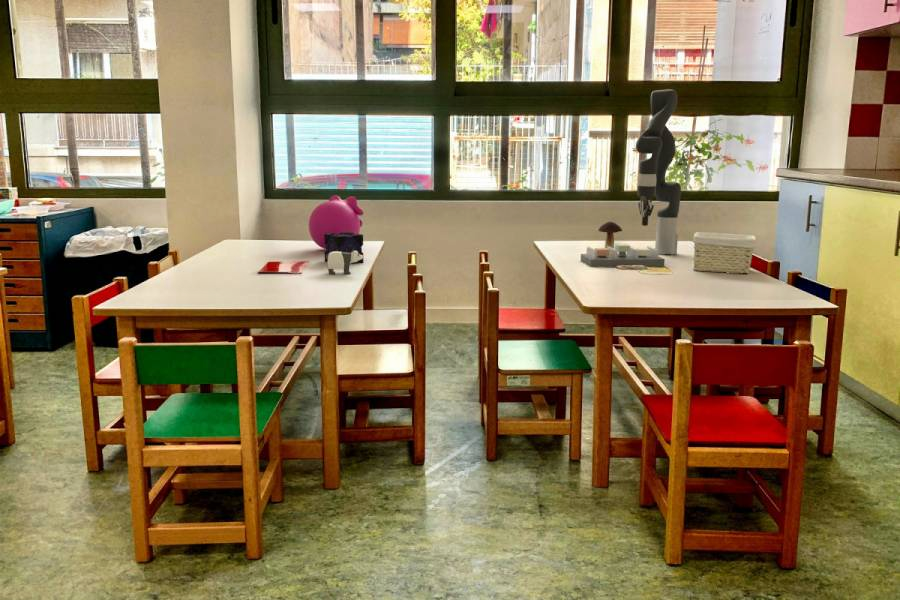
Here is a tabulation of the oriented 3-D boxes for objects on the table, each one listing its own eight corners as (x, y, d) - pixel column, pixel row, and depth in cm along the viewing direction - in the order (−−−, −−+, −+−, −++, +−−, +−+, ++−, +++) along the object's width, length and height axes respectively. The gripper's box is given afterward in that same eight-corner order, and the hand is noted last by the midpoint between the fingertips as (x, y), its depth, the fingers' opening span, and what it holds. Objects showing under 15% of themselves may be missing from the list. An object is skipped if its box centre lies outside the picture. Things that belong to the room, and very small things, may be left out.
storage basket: (752, 269, 323) (755, 234, 320) (753, 275, 308) (756, 239, 305) (692, 265, 331) (695, 231, 328) (690, 271, 316) (693, 235, 313)
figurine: (371, 249, 367) (370, 196, 362) (338, 255, 347) (337, 199, 342) (333, 245, 379) (332, 193, 374) (299, 251, 359) (297, 196, 354)
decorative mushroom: (607, 256, 355) (609, 223, 352) (592, 252, 364) (593, 220, 361) (625, 254, 360) (627, 222, 357) (610, 251, 369) (612, 220, 366)
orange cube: (605, 258, 336) (606, 248, 335) (608, 260, 331) (609, 249, 330) (594, 258, 335) (594, 248, 334) (597, 260, 330) (598, 249, 330)
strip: (643, 267, 324) (643, 264, 324) (647, 269, 320) (647, 266, 320) (615, 267, 323) (615, 265, 323) (619, 269, 319) (619, 266, 319)
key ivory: (645, 258, 338) (646, 248, 337) (649, 260, 333) (650, 249, 332) (634, 258, 337) (635, 248, 336) (638, 260, 332) (639, 249, 331)
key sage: (625, 254, 336) (626, 244, 335) (629, 256, 332) (630, 245, 331) (614, 254, 336) (615, 244, 335) (618, 256, 331) (618, 245, 330)
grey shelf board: (651, 260, 344) (652, 245, 342) (664, 266, 328) (665, 251, 327) (580, 260, 341) (581, 245, 339) (590, 266, 325) (591, 251, 324)
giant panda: (326, 275, 298) (325, 250, 296) (325, 272, 304) (325, 248, 302) (364, 274, 301) (364, 249, 299) (363, 271, 306) (363, 247, 304)
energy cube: (338, 265, 321) (337, 236, 319) (324, 261, 331) (324, 233, 328) (363, 263, 328) (363, 234, 326) (349, 259, 338) (349, 231, 335)
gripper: (661, 185, 322) (658, 227, 326) (650, 183, 335) (647, 223, 339) (643, 186, 321) (641, 227, 325) (633, 183, 334) (631, 223, 338)
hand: (644, 225), depth 332 cm, fingers closed
